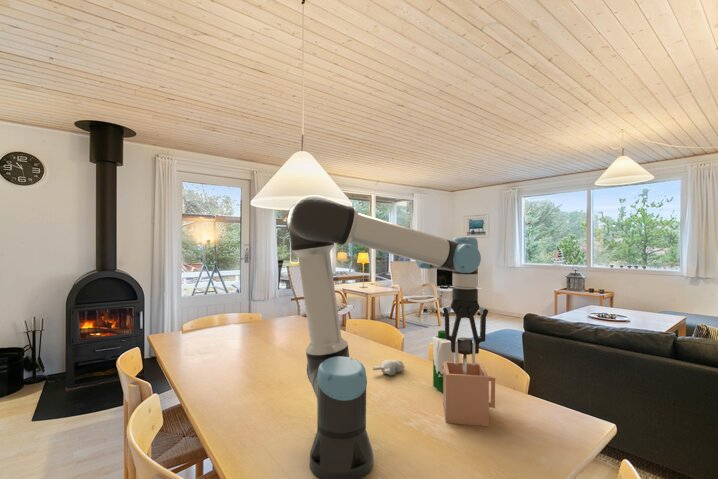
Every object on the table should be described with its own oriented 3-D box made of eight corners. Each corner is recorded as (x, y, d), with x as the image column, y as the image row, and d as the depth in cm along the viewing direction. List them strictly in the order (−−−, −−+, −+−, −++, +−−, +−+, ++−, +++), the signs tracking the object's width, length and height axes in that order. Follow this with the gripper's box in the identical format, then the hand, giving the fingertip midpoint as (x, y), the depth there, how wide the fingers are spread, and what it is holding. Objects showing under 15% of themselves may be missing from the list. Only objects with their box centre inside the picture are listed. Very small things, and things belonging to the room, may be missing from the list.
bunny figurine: (409, 360, 148) (390, 366, 136) (409, 373, 148) (390, 380, 136) (390, 356, 154) (370, 361, 142) (389, 368, 153) (369, 374, 141)
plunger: (481, 418, 105) (482, 344, 105) (450, 416, 107) (451, 342, 107) (477, 405, 114) (477, 336, 114) (448, 403, 115) (448, 335, 115)
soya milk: (450, 382, 135) (451, 329, 135) (464, 392, 126) (464, 335, 127) (429, 385, 133) (429, 330, 133) (441, 395, 124) (441, 337, 124)
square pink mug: (498, 427, 103) (499, 378, 103) (445, 422, 105) (446, 374, 105) (490, 408, 115) (490, 364, 115) (443, 404, 117) (443, 361, 117)
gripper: (492, 286, 113) (492, 361, 113) (435, 285, 116) (435, 357, 115) (497, 289, 105) (497, 369, 105) (436, 288, 108) (436, 365, 108)
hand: (464, 363), depth 110 cm, fingers closed on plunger, 4 cm apart
